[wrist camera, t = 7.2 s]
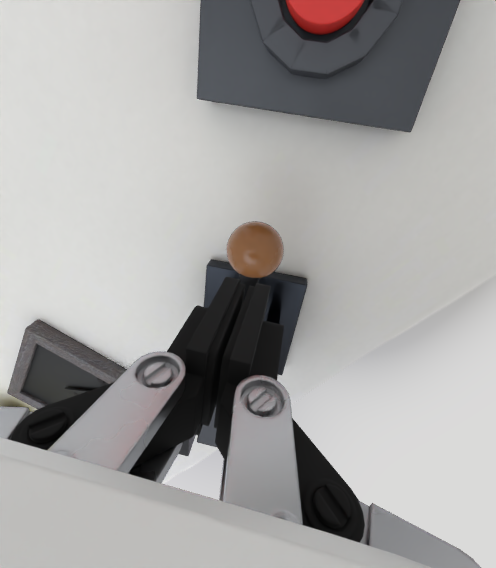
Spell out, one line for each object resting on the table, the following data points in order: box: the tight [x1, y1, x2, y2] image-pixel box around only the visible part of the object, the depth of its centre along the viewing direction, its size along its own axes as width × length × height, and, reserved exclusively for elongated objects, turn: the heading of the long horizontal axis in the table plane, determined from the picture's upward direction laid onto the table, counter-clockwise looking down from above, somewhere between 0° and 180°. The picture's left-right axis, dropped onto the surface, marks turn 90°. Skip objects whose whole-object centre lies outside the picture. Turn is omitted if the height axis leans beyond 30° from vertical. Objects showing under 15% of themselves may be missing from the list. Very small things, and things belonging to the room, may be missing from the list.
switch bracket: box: [178, 259, 307, 456], centre depth 21 cm, size 10×8×12 cm
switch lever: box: [197, 221, 284, 447], centre depth 17 cm, size 13×3×3 cm, turn 172°
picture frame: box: [8, 320, 126, 409], centre depth 35 cm, size 13×2×18 cm
